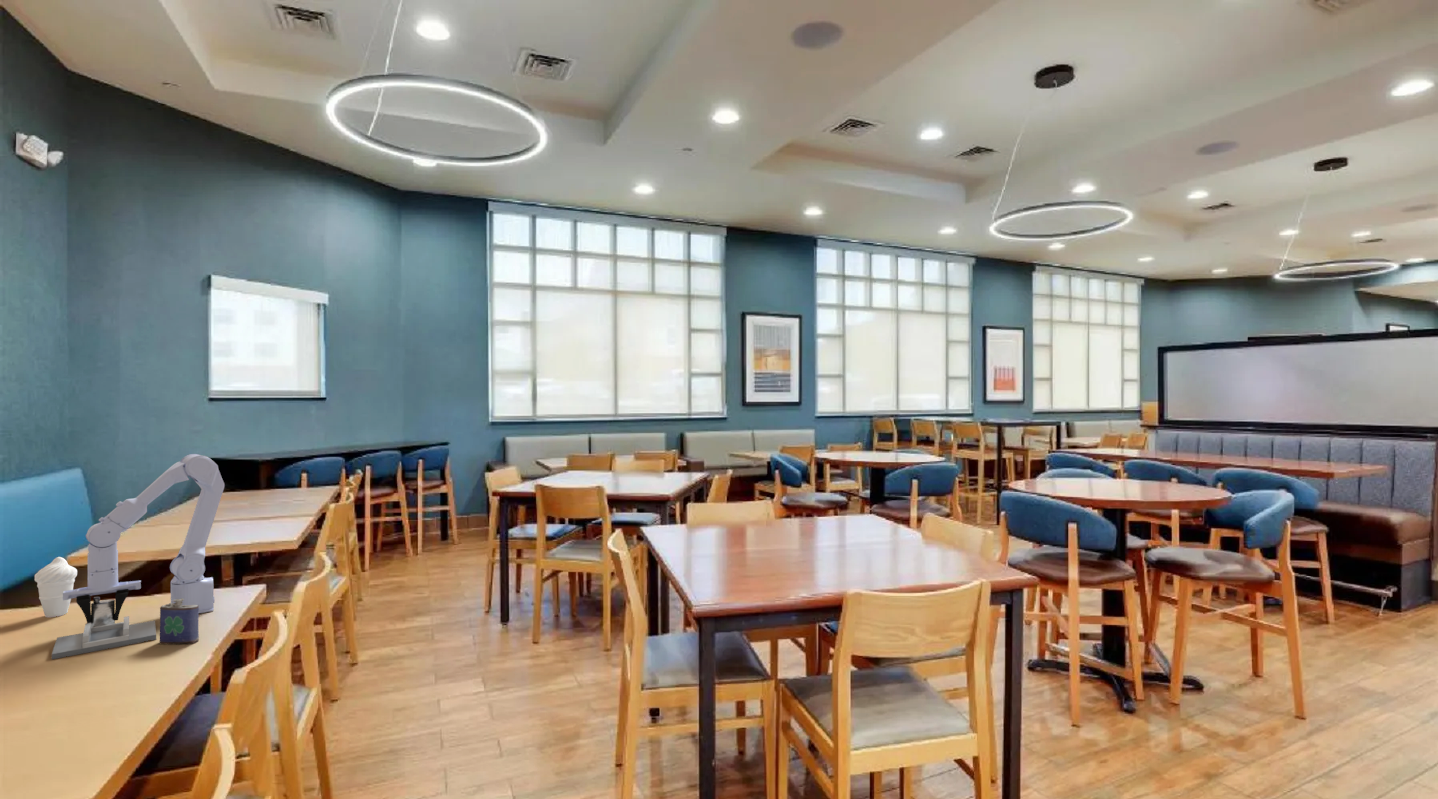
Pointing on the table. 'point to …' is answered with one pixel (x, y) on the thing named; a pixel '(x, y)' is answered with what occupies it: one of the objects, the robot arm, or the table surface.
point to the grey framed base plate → (104, 638)
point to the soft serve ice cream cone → (55, 586)
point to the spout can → (102, 612)
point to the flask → (179, 623)
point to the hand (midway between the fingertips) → (103, 621)
